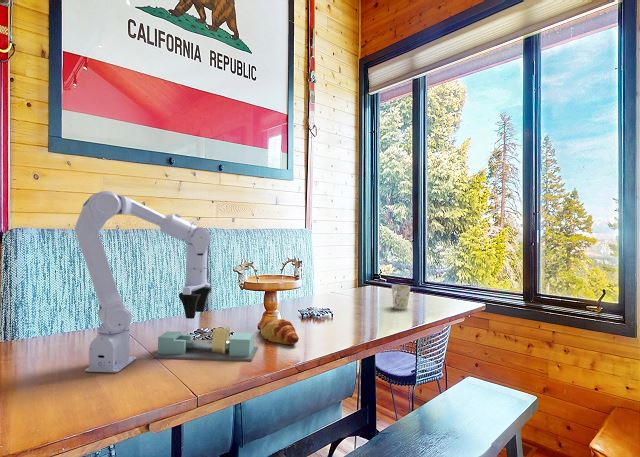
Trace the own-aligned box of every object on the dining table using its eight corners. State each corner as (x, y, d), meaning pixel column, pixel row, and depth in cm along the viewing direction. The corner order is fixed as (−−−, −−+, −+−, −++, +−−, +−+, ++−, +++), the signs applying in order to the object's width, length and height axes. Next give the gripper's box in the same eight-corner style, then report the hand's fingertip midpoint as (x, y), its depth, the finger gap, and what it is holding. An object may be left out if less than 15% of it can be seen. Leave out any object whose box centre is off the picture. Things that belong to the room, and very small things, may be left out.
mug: (412, 307, 171) (412, 286, 171) (402, 313, 160) (403, 289, 160) (394, 305, 175) (395, 284, 175) (384, 310, 164) (385, 287, 164)
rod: (183, 352, 103) (183, 331, 103) (189, 346, 107) (189, 326, 107) (240, 354, 103) (240, 332, 103) (243, 348, 107) (244, 328, 107)
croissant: (255, 341, 127) (245, 322, 125) (277, 324, 133) (268, 305, 130) (289, 359, 111) (279, 338, 108) (313, 338, 116) (304, 317, 114)
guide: (153, 358, 100) (153, 339, 100) (168, 345, 110) (169, 328, 110) (251, 361, 100) (251, 342, 100) (257, 348, 110) (258, 331, 110)
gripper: (201, 271, 100) (200, 322, 100) (217, 265, 115) (216, 309, 115) (175, 270, 100) (174, 320, 101) (195, 265, 115) (193, 308, 115)
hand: (195, 314), depth 108 cm, fingers open, 7 cm apart
